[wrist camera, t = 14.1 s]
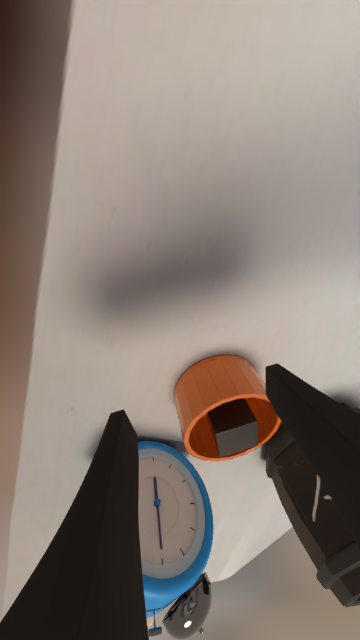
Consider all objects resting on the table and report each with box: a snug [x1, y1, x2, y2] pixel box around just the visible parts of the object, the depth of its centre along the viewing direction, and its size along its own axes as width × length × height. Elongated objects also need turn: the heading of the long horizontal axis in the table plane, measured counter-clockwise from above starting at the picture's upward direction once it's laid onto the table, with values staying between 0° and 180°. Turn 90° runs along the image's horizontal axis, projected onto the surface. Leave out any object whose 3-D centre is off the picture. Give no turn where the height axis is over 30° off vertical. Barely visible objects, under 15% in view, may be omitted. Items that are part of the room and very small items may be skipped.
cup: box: [174, 355, 281, 461], centre depth 24 cm, size 10×10×6 cm
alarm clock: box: [138, 441, 213, 640], centre depth 23 cm, size 13×6×15 cm, turn 62°
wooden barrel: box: [265, 403, 360, 607], centre depth 29 cm, size 18×18×16 cm
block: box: [206, 398, 258, 457], centre depth 23 cm, size 4×4×6 cm
